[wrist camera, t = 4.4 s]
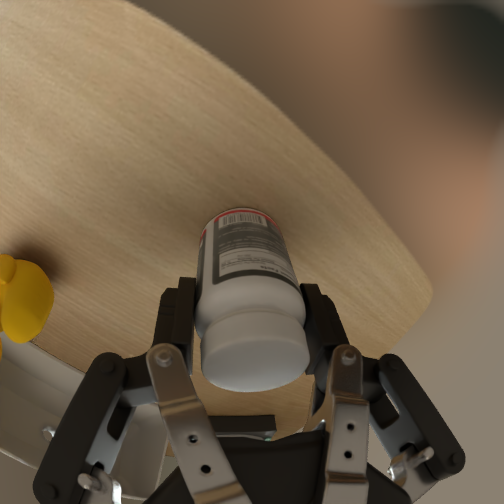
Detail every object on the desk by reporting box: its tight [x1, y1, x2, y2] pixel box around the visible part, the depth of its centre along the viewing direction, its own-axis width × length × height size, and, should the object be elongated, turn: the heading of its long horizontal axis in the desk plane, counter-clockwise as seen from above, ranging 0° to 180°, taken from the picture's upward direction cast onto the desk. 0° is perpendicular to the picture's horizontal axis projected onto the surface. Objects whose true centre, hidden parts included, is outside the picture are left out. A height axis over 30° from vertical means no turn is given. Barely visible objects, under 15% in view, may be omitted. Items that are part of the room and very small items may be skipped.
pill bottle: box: [194, 208, 310, 392], centre depth 13 cm, size 5×5×8 cm
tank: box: [0, 331, 169, 500], centre depth 22 cm, size 25×16×12 cm, turn 44°
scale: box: [208, 415, 277, 441], centre depth 34 cm, size 11×11×3 cm
